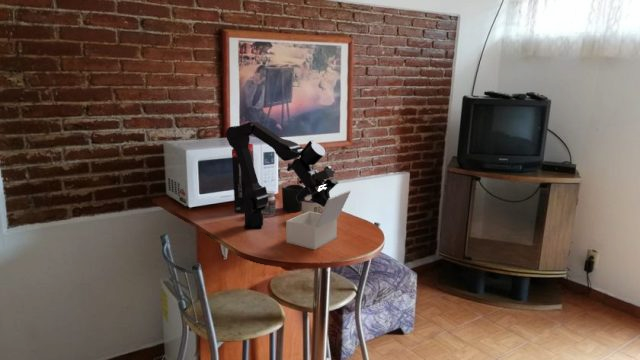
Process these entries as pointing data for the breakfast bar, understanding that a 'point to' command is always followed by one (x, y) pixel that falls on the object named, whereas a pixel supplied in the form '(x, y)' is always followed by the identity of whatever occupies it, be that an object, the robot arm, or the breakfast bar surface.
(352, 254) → the breakfast bar surface
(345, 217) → the breakfast bar surface
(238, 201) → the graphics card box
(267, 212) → the pill bottle
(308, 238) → the carton
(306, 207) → the teacup with lid
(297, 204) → the pen holder
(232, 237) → the breakfast bar surface
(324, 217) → the carton flap
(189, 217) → the breakfast bar surface
